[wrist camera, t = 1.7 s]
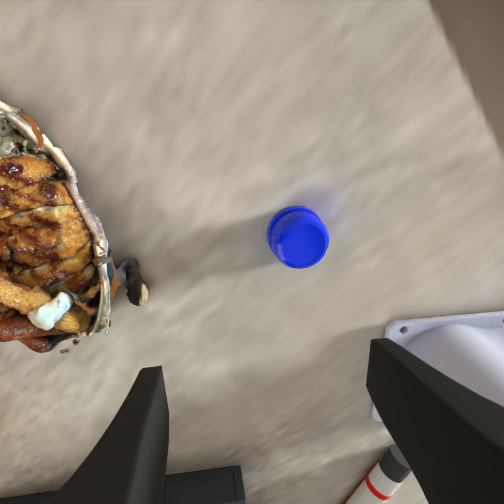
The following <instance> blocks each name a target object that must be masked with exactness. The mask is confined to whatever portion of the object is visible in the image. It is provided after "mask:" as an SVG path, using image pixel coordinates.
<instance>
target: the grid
mask: <svg viewBox="0 0 504 504" xmlns="http://www.w3.org/2000/svg"><path fill="white" fill-rule="evenodd" d="M57 492H58V491H54V492H47V493H39V494H32V495H25V496H18V497H11V498H3V499H0V504H47V503H48V502H49V501H50V500H51V499H52V498H53V497H54V496H55V495H56V494H57ZM162 504H246V499H245V492H244V485H243V479H242V473H241V466H233V467H226V468H219V469H212V470H204V471H197V472H190V473H183V474H176V475H169V476H165V480H164V489H163V497H162Z"/></svg>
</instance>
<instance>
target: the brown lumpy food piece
mask: <svg viewBox="0 0 504 504" xmlns="http://www.w3.org/2000/svg"><path fill="white" fill-rule="evenodd" d="M76 175H77V171H76V170H75V169H74V168H73V167H72V166H71V165H70V164H69V162H68V159H67V157H65V155H64V153H63V151H62V150H61V148H56V147H53V146H52V144H51V142H50V141H49V140H48V139H47V137H46V136H45V134H43V135H42V134H41V132H40V129H39V127H38V125H37V124H36V122H35V121H34V120H33V119H32V118H31V117H30V116H29V115H27V114H26V113H24V112H23V110H22V109H17V108H16V107H12V106H10V105H7V104H5V103H3V102H1V101H0V342H6V341H11V340H16V339H17V340H19V341H20V342H22V343H23V344H25V345H26V346H28V348H30V349H31V350H33V351H36V352H38V353H44V352H49V351H51V350H53V349H54V348H56V346H58V345H60V344H62V343H63V342H64V341H66V340H67V339H70V338H81V337H83V336H85V335H88V336H90V335H92V334H94V333H95V332H96V333H98V332H101V331H103V330H104V329H105V328H109V327H110V325H111V320H110V312H111V305H112V299H113V298H114V297H115V292H116V290H117V287H118V286H121V285H127V286H126V288H127V290H128V293H127V296H128V298H129V301H130V303H132V304H134V305H136V306H141V305H143V304H144V303H145V302H146V301H147V299H148V297H149V288H148V286H147V284H146V282H144V281H142V280H141V279H140V278H141V276H140V273H139V264H138V262H137V260H134V259H131V258H128V259H127V261H126V260H125V261H124V262H123V263H122V264H121V266H120V267H119V268H118V269H117V270H116V268H115V266H114V264H113V259H112V256H111V254H110V253H111V250H110V249H109V247H108V241H107V239H106V237H105V235H104V229H103V227H102V225H101V223H100V220H99V218H98V216H96V215H95V214H93V213H91V211H90V209H89V207H88V206H87V204H86V203H85V201H84V200H83V198H82V197H81V196H80V195H79V194H78V189H77V186H76V184H75V183H77V182H78V180H77V178H76ZM105 334H106V335H107V334H109V333H108V331H106V332H105ZM73 343H74V345H78V344H79V343H80V340H79V341H77V340H76V339H75V340H73ZM69 351H70V349H64V350H61V351H60V352H61V353H64V352H69Z"/></svg>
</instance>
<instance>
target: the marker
mask: <svg viewBox="0 0 504 504" xmlns="http://www.w3.org/2000/svg"><path fill="white" fill-rule="evenodd" d="M411 471H412V470H411V468H410V466H409V465H408V463H407V461H406V460H405V458H404V456H403V455H402V453H401V451H400V450H399V448H398V446H396V445H392V446H391V447H390V448H389V449H388V450H387V452H386V453H385V454H384V456H383V457H382V458H381V459H380V460H379V461H378V462H377V463H376V465H375V466H374V467H373V468H372V470H371V471H370V472H369V473H368V475H367V476H366V477H365V478H364V480H363V481H362V482H361V483H360V485H359V486H358V487H357V488H356V490H355V491H354V492H353V493H352V495H351V496H350V497H349V498H348V500H347V501H346V502H345V504H385V503H386V502H387V501H388V499H389V498H390V497H391V496H392V495H393V493H394V492H395V491H396V490H397V489H398V487H399V486H400V485H401V484H402V483H403V480H404V479H405V478H406V477H407V476H408V474H409V473H410V472H411Z"/></svg>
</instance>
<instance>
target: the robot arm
mask: <svg viewBox="0 0 504 504" xmlns="http://www.w3.org/2000/svg"><path fill="white" fill-rule="evenodd" d="M402 327H404V328H403V329H402V330H400V329H401V328H402ZM366 387H367V389H368V391H369V394H370V396H371V399H372V401H373V408H372V417H373V419H374V421H376V422H383V423H384V424H385V426H386V428H387V429H388V431H389V433H390V435H391V436H392V438H393V440H394V441H395V443H396V445H397V446H398V448H399V450H400V451H401V453H402V455H403V456H404V458H405V460H406V461H407V463H408V465H409V466H410V468H411V470H412V471H413V473H414V475H415V477H416V479H417V481H418V482H419V484H420V486H421V488H422V490H423V492H424V495H425V497H426V499H427V501H428V503H429V504H504V311H496V312H485V313H474V314H463V315H452V316H441V317H430V318H419V319H408V320H397V321H392V322H390V323H388V325H387V326H386V329H385V335H384V338H381V339H373V340H371V345H370V354H369V363H368V372H367V381H366ZM168 446H169V410H168V404H167V397H166V391H165V384H164V378H163V372H162V366H156V367H148V368H142V369H141V370H140V371H139V374H138V376H137V378H136V380H135V382H134V384H133V386H132V388H131V390H130V392H129V393H128V395H127V397H126V399H125V401H124V402H123V404H122V406H121V407H120V409H119V411H118V412H117V414H116V416H115V417H114V419H113V421H112V422H111V424H110V425H109V427H108V428H107V430H106V431H105V433H104V434H103V436H102V437H101V439H100V440H99V441H98V443H97V444H96V446H95V447H94V448H93V450H92V451H91V453H90V454H89V455H88V456H87V458H86V459H85V460H84V462H83V463H82V464H81V465H80V467H79V468H78V469H77V470H76V472H75V473H74V474H73V475H72V476H71V478H70V479H69V480H68V481H67V482H66V483H65V484H64V486H63V487H62V488H61V489H60V490H59V491H58V492H57V494H56V495H55V496H54V497H53V498H52V499H51V500H50V501H49V502H48V503H47V504H162V497H163V489H164V480H165V472H166V463H167V454H168Z"/></svg>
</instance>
